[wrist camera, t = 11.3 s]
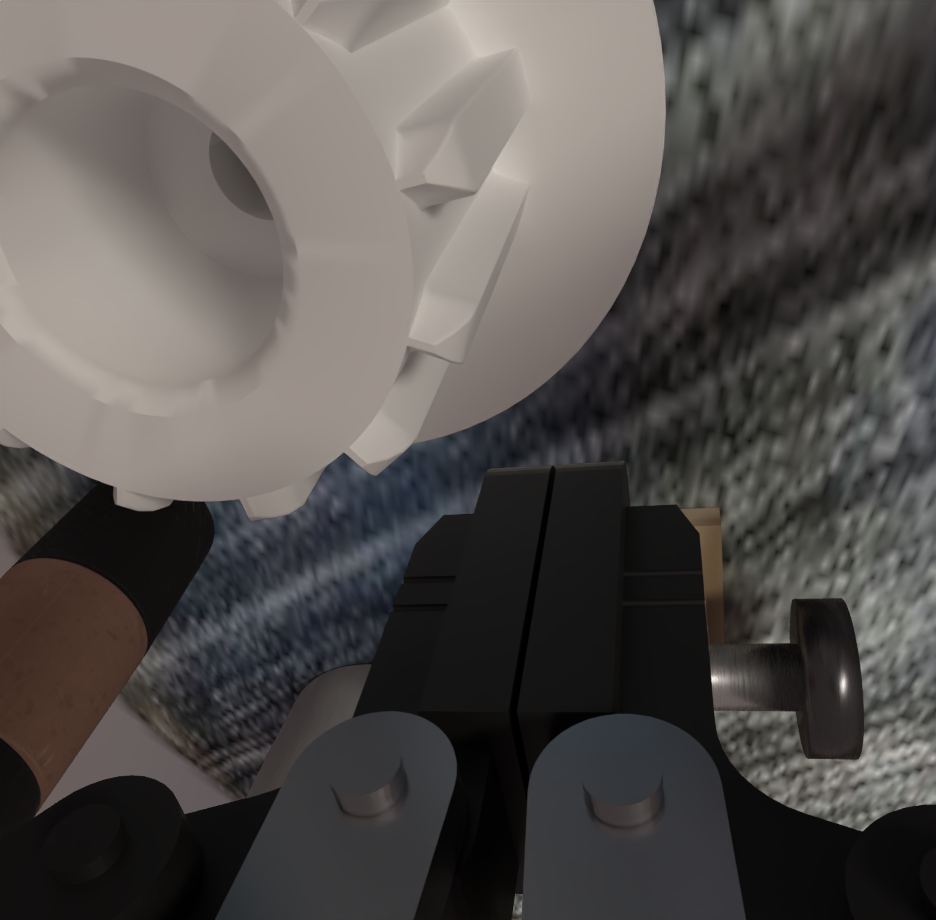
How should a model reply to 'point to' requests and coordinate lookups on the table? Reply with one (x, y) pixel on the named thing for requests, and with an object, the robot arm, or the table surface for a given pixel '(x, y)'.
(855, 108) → the table surface
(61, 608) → the travel mug
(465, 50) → the ribbed cylinder on disc
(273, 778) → the utensil holder
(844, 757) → the shaft
